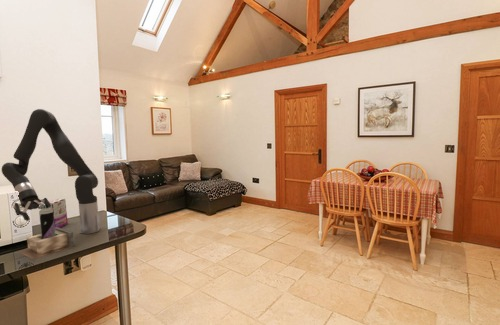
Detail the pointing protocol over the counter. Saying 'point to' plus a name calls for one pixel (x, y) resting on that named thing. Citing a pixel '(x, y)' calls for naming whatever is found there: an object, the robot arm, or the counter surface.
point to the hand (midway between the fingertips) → (38, 217)
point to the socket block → (47, 243)
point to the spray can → (47, 222)
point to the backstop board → (70, 244)
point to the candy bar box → (59, 212)
